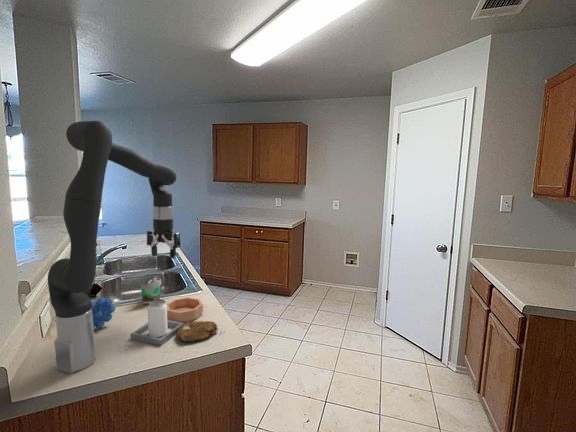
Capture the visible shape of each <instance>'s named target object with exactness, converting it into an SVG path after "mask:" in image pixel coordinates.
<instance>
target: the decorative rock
mask: <svg viewBox="0 0 576 432" xmlns="http://www.w3.org/2000/svg"><path fill="white" fill-rule="evenodd" d="M218 330H219V328H218V325H217V323H216V322H214V321H208V320H207V321H202V320H200V321H199V320H194V321H190V322H186V323H184V325H183V326H182V327H180V328H179V329H178V332H177V333H176V335H175V338H176V340H181V342H182V341H183V342H186V343H187V342H191V343H192V342H195V341H198V340H199V341H201V340H203V339H204V340H205V339H207V338H209V336H212V335H214V334H216V333H217V332H218Z"/></svg>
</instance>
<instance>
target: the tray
mask: <svg viewBox="0 0 576 432" xmlns="http://www.w3.org/2000/svg"><path fill="white" fill-rule="evenodd" d="M184 324H185V322H184V323H181V322H175V321H170V320H168V319H167V326H168V328H173V329H171V330H170V331H168V332H167V333H166V334H165V335H164V336H161V337H152V336H150V335H145V334H143V333H145V332H147V331H149V326H148V322H147V323H145V324H143V325H142V326H141V327H139V328H138V329H136V330H134V331H133V332H131V333H130V340H133V341H138V342H143V343H147V344H152V345H156V346H163V345H164V344H166V343H167V342H168V341H170V339H171V340H172V338H173V337H174V336H176V333H177V332H178V329H179V328H180V327H182V326H183V325H184Z"/></svg>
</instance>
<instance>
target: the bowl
mask: <svg viewBox="0 0 576 432" xmlns="http://www.w3.org/2000/svg"><path fill="white" fill-rule="evenodd" d="M166 305H167V320H170V321H175V322H181V323H184V324H185V323H190V322H194V321H196V320H197V319H199V318H200V317H201V316H202V315H203V314H202V313H204V307H203V306H204V304H203V302H202V300H201V299H200V298H195V297H189V296H188V297H181V298H175V299H172V300H171V301H170V302H168V303H166Z"/></svg>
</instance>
